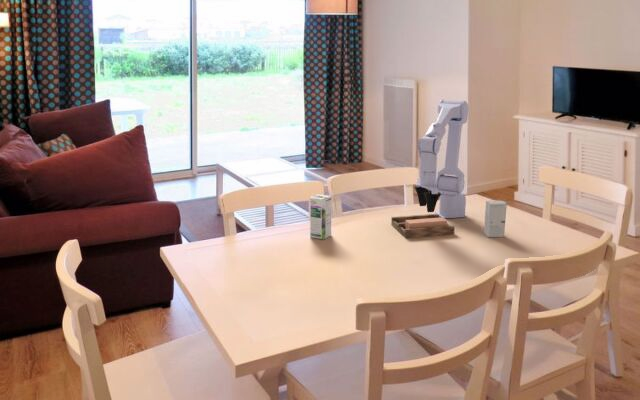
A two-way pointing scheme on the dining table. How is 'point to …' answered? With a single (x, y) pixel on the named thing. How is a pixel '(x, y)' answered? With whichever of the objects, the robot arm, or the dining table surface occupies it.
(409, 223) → the clay strip
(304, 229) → the dining table surface
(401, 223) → the rack
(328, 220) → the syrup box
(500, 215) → the skincare box
